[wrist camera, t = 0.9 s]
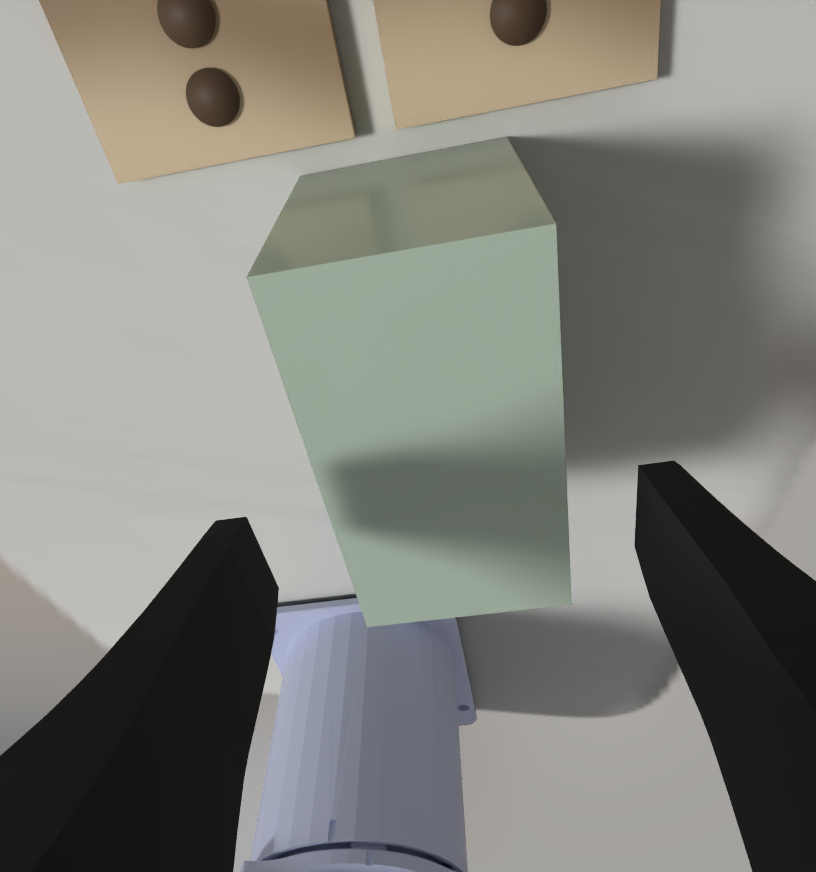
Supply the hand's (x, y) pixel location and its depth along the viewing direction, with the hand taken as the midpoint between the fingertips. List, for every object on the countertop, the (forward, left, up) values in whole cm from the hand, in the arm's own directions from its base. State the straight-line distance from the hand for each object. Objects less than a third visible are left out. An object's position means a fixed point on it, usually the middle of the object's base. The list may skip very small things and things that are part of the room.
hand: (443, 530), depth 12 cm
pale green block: (0, 0, -8) cm, 8 cm away
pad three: (+8, +4, -8) cm, 12 cm away
